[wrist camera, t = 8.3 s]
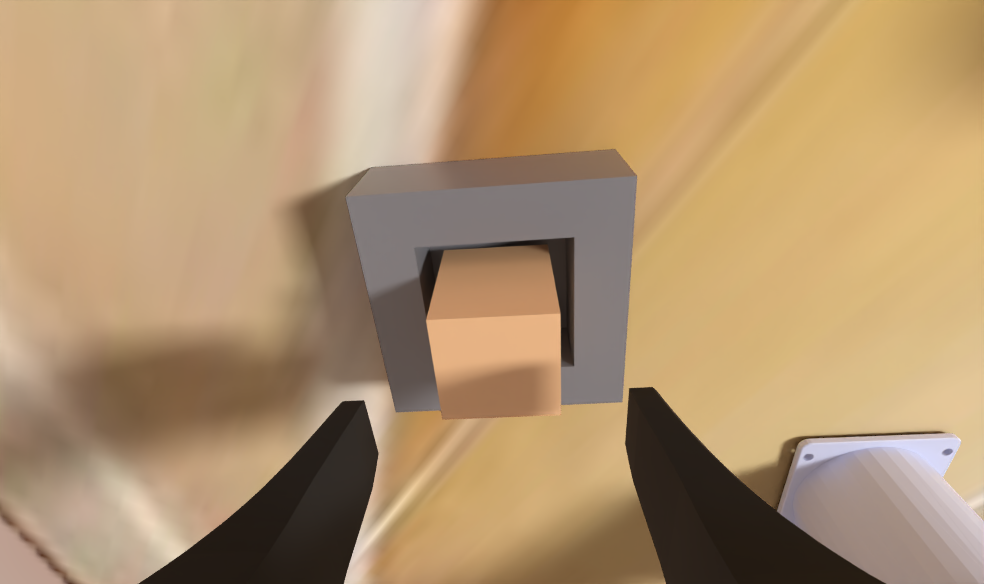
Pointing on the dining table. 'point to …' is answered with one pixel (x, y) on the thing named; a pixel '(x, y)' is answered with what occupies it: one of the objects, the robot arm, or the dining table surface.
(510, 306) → the plug
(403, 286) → the socket
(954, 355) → the dining table surface
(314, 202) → the dining table surface
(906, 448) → the robot arm
